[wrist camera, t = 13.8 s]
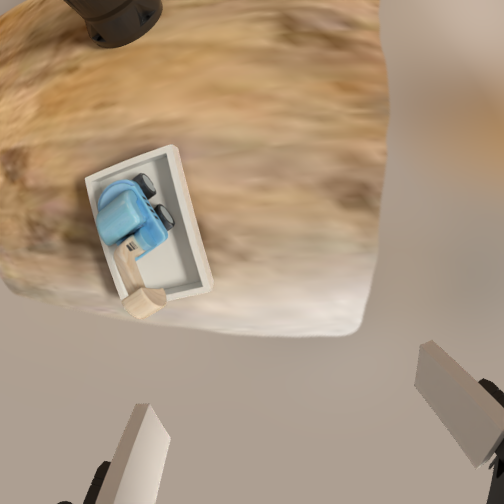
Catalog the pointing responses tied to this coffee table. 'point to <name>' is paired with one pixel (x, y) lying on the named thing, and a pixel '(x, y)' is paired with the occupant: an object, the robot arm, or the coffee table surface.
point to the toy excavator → (134, 237)
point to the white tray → (179, 237)
